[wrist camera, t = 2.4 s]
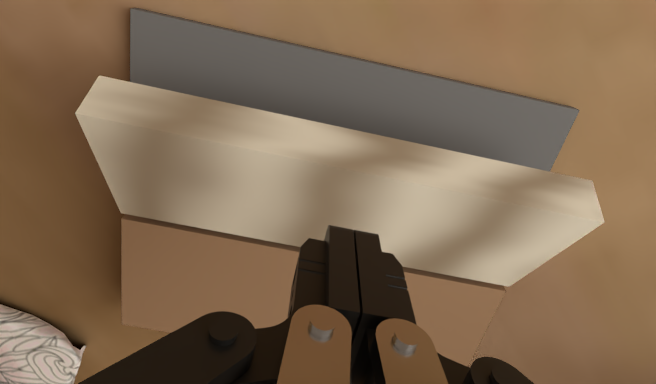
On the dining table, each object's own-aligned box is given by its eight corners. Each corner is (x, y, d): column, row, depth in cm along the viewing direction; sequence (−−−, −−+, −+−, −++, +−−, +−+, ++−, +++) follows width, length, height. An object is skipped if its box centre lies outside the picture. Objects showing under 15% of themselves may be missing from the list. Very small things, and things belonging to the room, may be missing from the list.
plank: (592, 180, 17) (604, 222, 16) (504, 252, 23) (509, 286, 22) (99, 75, 16) (74, 113, 15) (136, 180, 22) (120, 213, 21)
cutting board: (573, 107, 21) (603, 122, 18) (454, 355, 28) (465, 388, 26) (136, 7, 19) (108, 11, 17) (132, 298, 26) (112, 329, 24)
